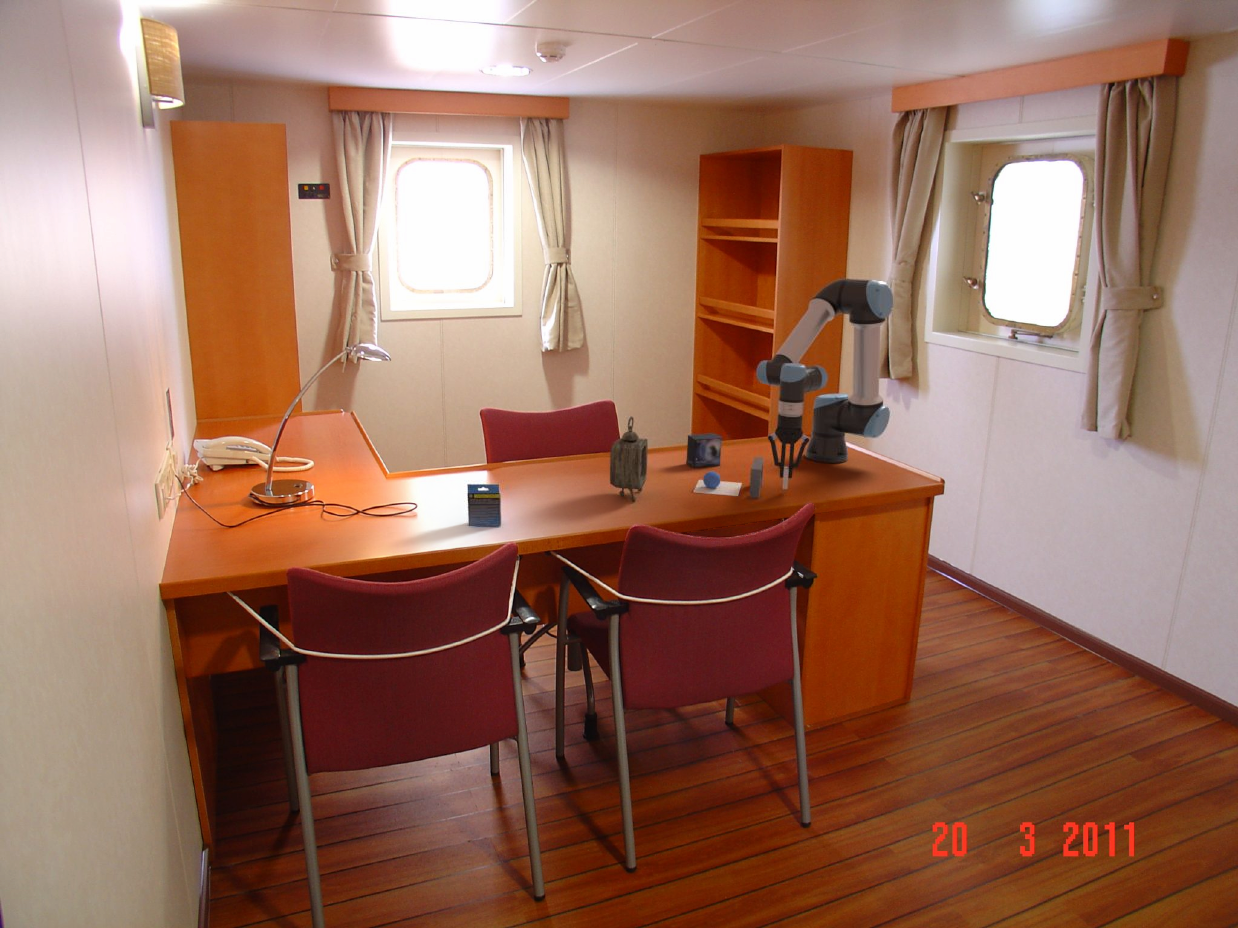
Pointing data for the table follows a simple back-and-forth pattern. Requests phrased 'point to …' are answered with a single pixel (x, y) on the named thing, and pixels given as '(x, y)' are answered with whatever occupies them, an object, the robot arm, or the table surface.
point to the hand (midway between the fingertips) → (785, 487)
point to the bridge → (756, 477)
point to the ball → (711, 479)
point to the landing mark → (719, 488)
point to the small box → (704, 450)
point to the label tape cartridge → (484, 505)
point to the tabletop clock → (629, 462)
